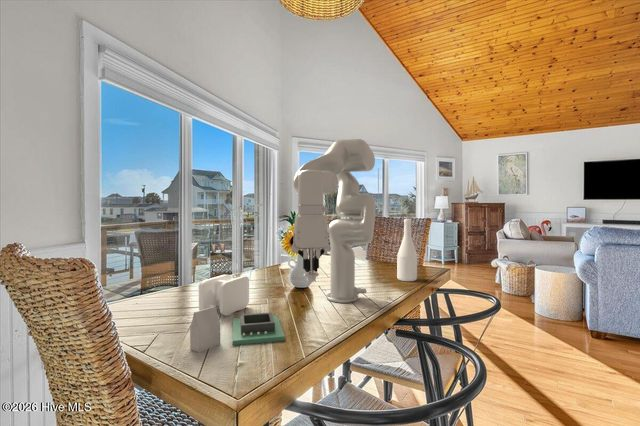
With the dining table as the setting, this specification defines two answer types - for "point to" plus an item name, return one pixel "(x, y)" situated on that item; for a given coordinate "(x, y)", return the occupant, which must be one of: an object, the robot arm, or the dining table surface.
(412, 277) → the wine bottle
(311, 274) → the screw
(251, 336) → the board
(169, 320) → the dining table surface
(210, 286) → the cable organizer
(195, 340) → the tea bag
